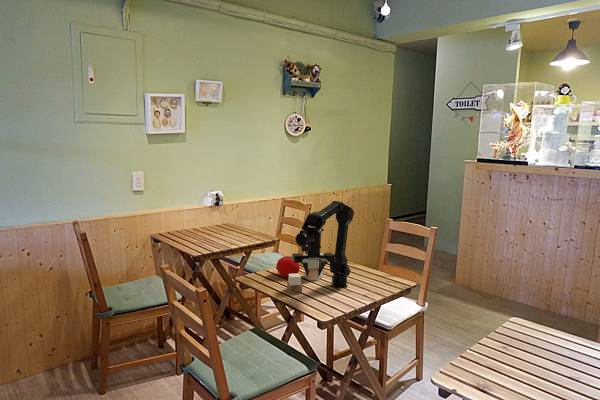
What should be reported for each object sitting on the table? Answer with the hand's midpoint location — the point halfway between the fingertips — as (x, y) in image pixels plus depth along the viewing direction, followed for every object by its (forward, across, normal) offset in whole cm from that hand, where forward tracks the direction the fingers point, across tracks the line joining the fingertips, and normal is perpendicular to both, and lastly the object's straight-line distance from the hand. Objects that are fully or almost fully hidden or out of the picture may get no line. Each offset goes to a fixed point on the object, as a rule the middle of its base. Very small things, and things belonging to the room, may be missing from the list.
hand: (312, 276), depth 187 cm
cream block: (+7, +6, -11) cm, 14 cm away
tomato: (+11, +5, -33) cm, 35 cm away
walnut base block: (+11, +6, -11) cm, 17 cm away
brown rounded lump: (+1, 0, 0) cm, 1 cm away
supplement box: (+11, -8, -29) cm, 32 cm away
